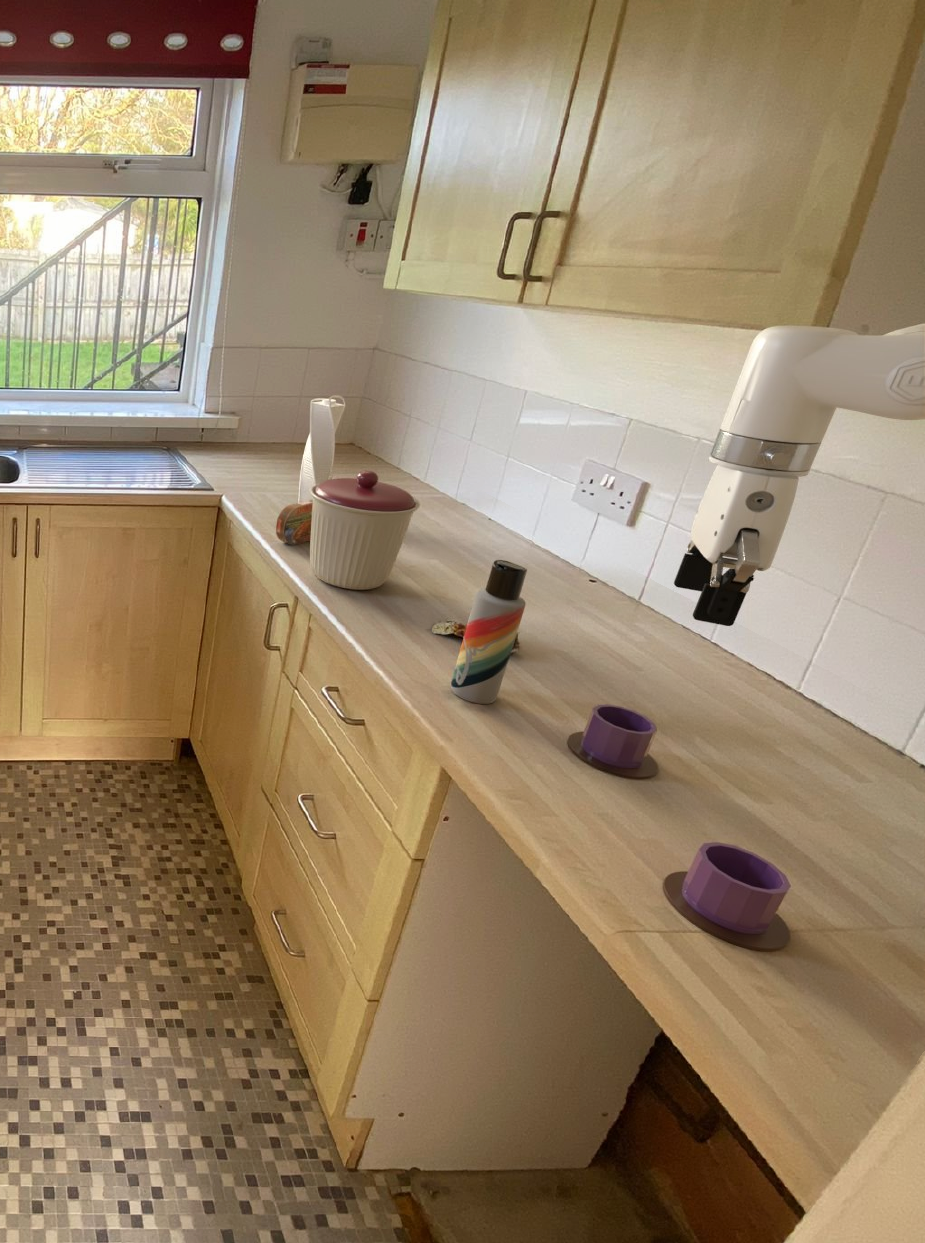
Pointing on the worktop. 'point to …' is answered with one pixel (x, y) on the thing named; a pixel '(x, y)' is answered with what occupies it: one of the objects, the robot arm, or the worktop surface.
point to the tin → (295, 523)
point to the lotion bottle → (490, 634)
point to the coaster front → (766, 941)
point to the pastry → (460, 631)
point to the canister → (358, 530)
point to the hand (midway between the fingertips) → (700, 604)
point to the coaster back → (642, 772)
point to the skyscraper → (320, 445)
